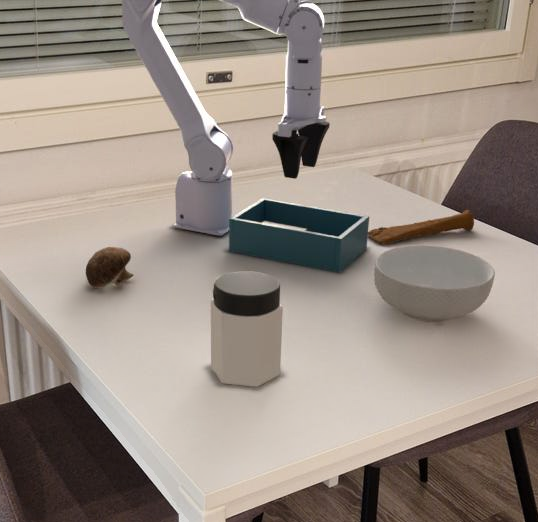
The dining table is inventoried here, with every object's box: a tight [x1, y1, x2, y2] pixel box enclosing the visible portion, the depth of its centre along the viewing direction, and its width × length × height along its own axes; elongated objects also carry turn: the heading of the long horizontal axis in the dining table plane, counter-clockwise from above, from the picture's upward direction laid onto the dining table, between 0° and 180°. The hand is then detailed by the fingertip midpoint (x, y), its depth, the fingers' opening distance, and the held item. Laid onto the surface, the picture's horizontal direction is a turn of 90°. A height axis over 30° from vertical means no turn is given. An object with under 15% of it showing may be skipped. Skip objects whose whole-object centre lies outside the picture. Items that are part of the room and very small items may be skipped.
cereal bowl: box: [373, 244, 496, 323], centre depth 138 cm, size 17×17×7 cm
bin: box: [228, 197, 370, 273], centre depth 159 cm, size 20×13×6 cm, turn 64°
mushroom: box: [85, 246, 134, 289], centre depth 144 cm, size 8×8×6 cm
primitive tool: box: [368, 209, 475, 245], centre depth 167 cm, size 19×6×4 cm, turn 112°
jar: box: [210, 270, 284, 388], centre depth 119 cm, size 9×8×12 cm
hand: (300, 171), depth 162 cm, fingers open, 7 cm apart
